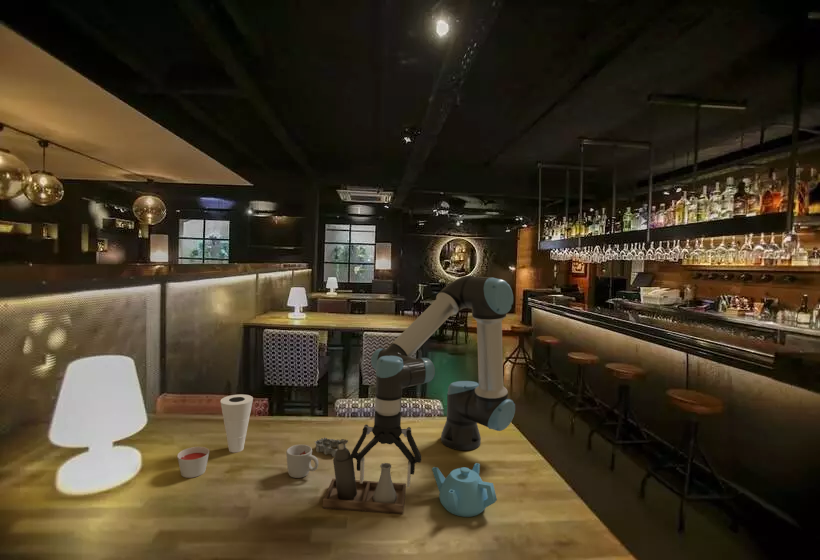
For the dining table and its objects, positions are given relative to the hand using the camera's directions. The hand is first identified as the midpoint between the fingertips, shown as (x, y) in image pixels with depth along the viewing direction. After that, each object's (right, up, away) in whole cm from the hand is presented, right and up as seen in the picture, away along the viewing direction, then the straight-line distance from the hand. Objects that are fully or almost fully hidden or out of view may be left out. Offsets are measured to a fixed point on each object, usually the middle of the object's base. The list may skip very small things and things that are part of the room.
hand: (385, 482), depth 127 cm
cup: (-27, -4, +13) cm, 30 cm away
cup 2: (-54, -1, +28) cm, 61 cm away
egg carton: (-21, -3, +30) cm, 37 cm away
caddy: (-6, -5, +1) cm, 8 cm away
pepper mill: (-11, -4, +1) cm, 12 cm away
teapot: (+22, -7, 0) cm, 23 cm away
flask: (0, -5, 0) cm, 5 cm away
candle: (-61, -2, +12) cm, 62 cm away
